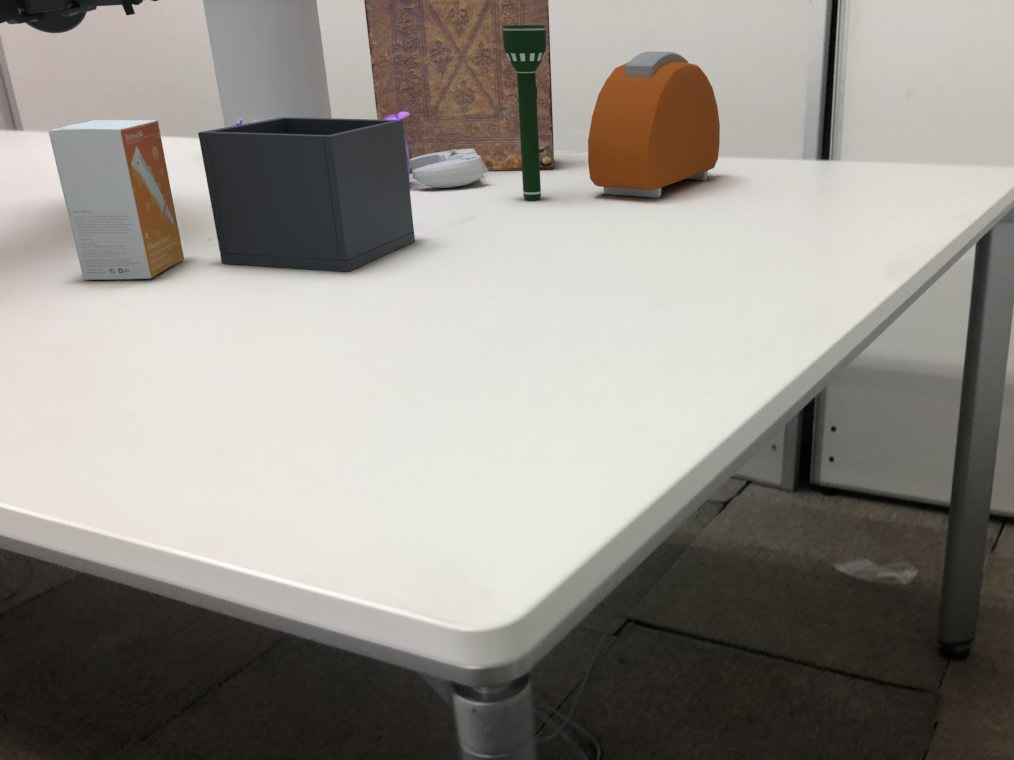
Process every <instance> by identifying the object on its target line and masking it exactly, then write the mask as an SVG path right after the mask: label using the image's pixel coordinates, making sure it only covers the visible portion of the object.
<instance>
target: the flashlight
mask: <svg viewBox="0 0 1014 760" xmlns="http://www.w3.org/2000/svg"><path fill="white" fill-rule="evenodd" d="M503 46H504V50H505V53H506V55H507V58H508V60H509V61H510V63H511V64H512V65H513V67H514V68H515V70H516V71H517V83H518V102H519V121H520V140H521V159H522V170H521V176H522V192H523V193H522V194H523V195H522V196H523V198H524V200H526V201H538V200H540V199H541V198H542V193H541V191H542V188H541V187H542V186H541V169H540V162H539V140H538V118H537V87H536V74H535V71H536V70H537V68H538V66H539V65H540V63H541V61H542V60H543V57H544V54H545V50H546V30H545V26H543V25H513V26H503Z"/></svg>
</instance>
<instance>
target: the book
mask: <svg viewBox="0 0 1014 760" xmlns="http://www.w3.org/2000/svg"><path fill="white" fill-rule="evenodd" d="M363 3H364V12H365V20H366V30H367V38H368V48H369V56H370V67H371V75H372V83H373V85H372V86H373V93H374V103H375V111H376V120H383V119H384V118H386V117H388V116H389V115H396V116H397V115H398V113H400V112H408V113H409V116H408V117H405V118H403V119H402V121H403V123H404V135H405V139H406V142H407V146H408V152H409V160H410V159H412V158H415V157H418V156H422V155H426V154H431V153H437V152H444V151H450V150H454V149H457V150H460V149H471V148H472V149H475V151H476V152H477V154H478V156H479V155H480V156H481V160H482V161H483V163H484V164H485V166H486V168H487V169H488V171H522V159H521V140H520V121H519V102H518V83H517V71H516V70H515V68H514V67H513V65H512V64H511V63H510V61H509V60H508V58H507V55H506V53H505V50H504V46H503V26H513V25H543V26H545V30H546V50H545V54H544V57H543V60H542V61H541V63H540V65H539V66H538V68H537V70H536V71H535V74H536V87H537V118H538V140H539V162H540V170H552V169H554V168H555V148H554V146H555V145H554V120H553V94H552V91H553V90H552V65H551V64H552V63H551V61H552V60H551V37H550V35H551V34H550V9H549V8H550V7H549V6H550V5H549V0H363ZM409 173H412V169H411V168H410V169H409Z"/></svg>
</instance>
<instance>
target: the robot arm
mask: <svg viewBox="0 0 1014 760" xmlns="http://www.w3.org/2000/svg"><path fill="white" fill-rule="evenodd" d="M151 1H152V2H158V1H159V0H151ZM143 2H144V0H0V24H3V23H7V24H8V25H20V24H26V25H27V26H29V27H31V28H33V29H35V30H37V31H39V32H43V33H47V34H63V33H67V32H69V31H72V30H74V29H76V28H77V27H78V26H79V25H81V23H82V22H83V21H84V19H85V18H86V15H87V13H88V12H93V11H96V10H97V7H109V6H110V7H111V6H122V9H123V11H124V13H125V15H126V16H131V15H136V12H135V9H134V7H133V5H134V6H139V5H141V4H142V3H143Z"/></svg>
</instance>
